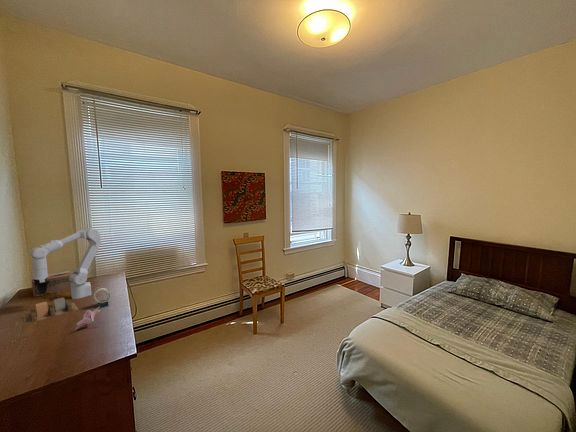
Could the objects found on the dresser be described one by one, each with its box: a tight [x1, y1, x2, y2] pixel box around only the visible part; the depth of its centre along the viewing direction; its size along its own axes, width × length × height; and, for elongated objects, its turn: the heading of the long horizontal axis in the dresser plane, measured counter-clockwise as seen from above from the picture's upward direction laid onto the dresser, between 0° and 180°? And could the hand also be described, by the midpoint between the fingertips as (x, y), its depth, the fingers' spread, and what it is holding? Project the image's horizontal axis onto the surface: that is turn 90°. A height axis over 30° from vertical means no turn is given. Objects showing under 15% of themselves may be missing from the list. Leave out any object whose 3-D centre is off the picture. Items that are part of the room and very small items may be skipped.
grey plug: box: [53, 297, 66, 312], centre depth 131 cm, size 4×4×6 cm
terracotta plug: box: [35, 301, 48, 317], centre depth 125 cm, size 4×4×6 cm
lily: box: [74, 306, 102, 331], centre depth 115 cm, size 12×12×10 cm
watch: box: [93, 287, 112, 309], centre depth 136 cm, size 6×8×11 cm
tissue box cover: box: [31, 269, 76, 297], centre depth 165 cm, size 26×14×10 cm, turn 140°
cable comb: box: [22, 299, 79, 325], centre depth 128 cm, size 20×14×4 cm
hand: (42, 292), depth 135 cm, fingers open, 7 cm apart
